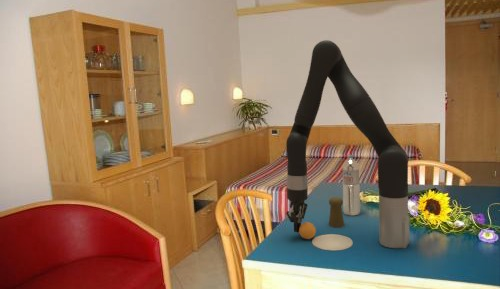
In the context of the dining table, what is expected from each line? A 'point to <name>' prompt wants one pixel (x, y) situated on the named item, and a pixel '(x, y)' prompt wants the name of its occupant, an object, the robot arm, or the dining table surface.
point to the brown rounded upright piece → (336, 212)
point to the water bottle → (351, 187)
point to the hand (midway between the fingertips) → (297, 231)
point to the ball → (307, 230)
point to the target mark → (332, 242)
